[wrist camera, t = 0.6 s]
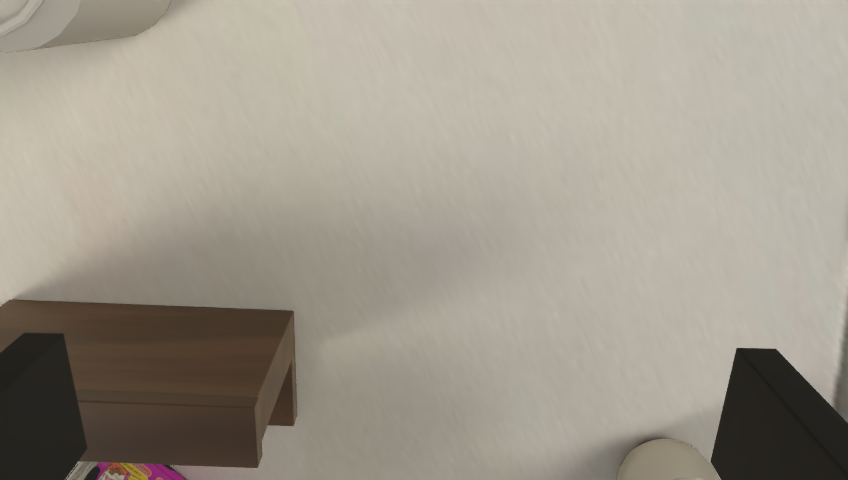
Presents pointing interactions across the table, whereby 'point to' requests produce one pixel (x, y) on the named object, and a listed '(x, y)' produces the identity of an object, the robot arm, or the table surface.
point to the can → (73, 21)
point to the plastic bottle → (666, 462)
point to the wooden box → (170, 377)
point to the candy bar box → (123, 471)
